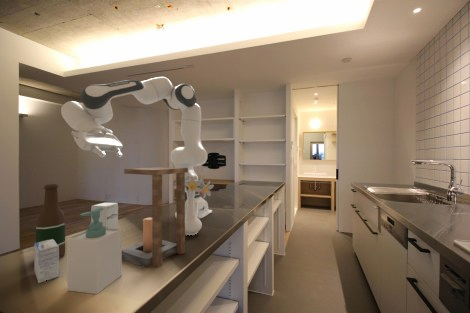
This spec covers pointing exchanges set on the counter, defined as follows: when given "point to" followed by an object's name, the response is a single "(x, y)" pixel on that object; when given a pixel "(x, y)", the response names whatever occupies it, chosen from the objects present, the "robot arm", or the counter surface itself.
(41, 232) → the beer bottle
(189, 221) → the flower vase
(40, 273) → the medicine box
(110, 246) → the soap bottle
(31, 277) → the counter surface
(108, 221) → the supplement box
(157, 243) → the brown wooden tall frame
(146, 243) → the peg
